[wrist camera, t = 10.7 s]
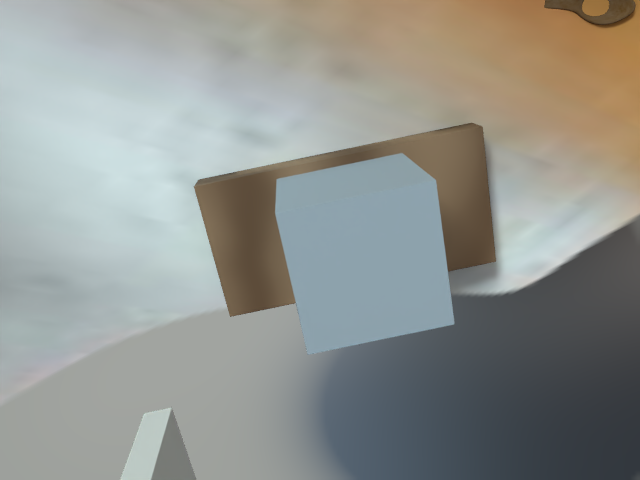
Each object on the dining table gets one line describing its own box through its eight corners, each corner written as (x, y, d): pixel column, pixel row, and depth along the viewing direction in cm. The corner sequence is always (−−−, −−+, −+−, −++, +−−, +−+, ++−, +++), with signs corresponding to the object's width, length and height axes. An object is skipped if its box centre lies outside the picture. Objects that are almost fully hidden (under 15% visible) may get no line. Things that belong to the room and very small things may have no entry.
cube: (302, 293, 32) (307, 354, 26) (276, 178, 30) (274, 213, 24) (419, 269, 32) (454, 324, 26) (402, 152, 30) (435, 180, 24)
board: (232, 303, 34) (230, 316, 33) (198, 179, 32) (194, 186, 30) (485, 251, 34) (495, 261, 33) (471, 122, 32) (482, 126, 30)
